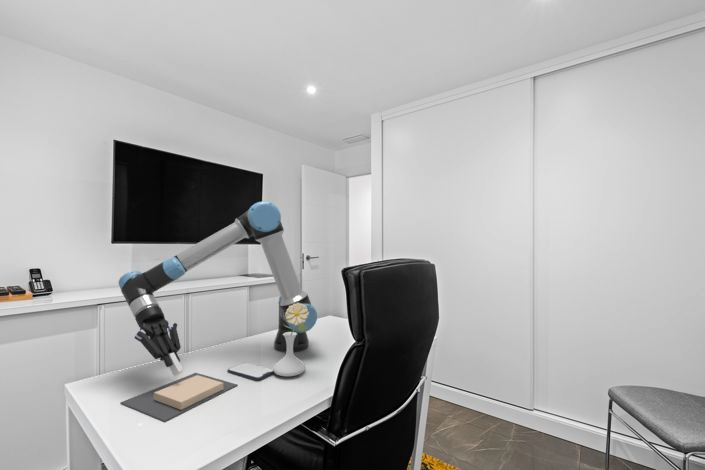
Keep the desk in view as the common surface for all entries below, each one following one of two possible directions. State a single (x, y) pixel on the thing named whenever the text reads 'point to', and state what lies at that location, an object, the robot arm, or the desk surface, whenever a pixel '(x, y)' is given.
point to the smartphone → (251, 371)
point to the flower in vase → (290, 362)
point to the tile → (188, 392)
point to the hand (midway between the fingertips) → (178, 373)
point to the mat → (164, 411)
